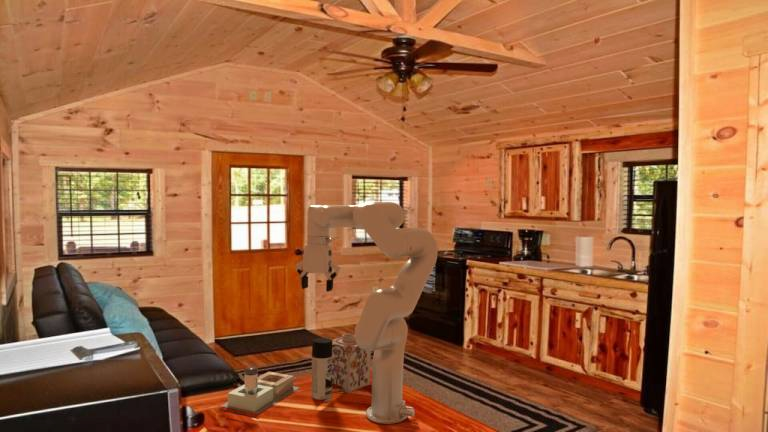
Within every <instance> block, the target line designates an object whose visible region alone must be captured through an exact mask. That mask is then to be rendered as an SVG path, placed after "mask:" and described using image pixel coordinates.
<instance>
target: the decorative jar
mask: <svg viewBox="0 0 768 432" xmlns="http://www.w3.org/2000/svg"><path fill="white" fill-rule="evenodd" d="M371 361H372V351H364V350H362V349H360V348H359V347H358V345H357V343H356V341H355V334H353V333H344V334H342V336H341V337H338V338H335V339H333V340H332V385H333V384H334V385H335V386H339V387H341V388H340V389H339V391H342V392H343V393H346V394H350V393H352V392H355V391H357V390H361V389H362V388H365V387H367V386H369V385H371V376H372V371H371V370H372V362H371Z"/></svg>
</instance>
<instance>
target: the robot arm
mask: <svg viewBox="0 0 768 432" xmlns="http://www.w3.org/2000/svg"><path fill="white" fill-rule="evenodd" d="M405 217H406V213H405V211H404V208H403V207H402V206H401V205H400V204H398V203H397V202H396V203H395V202H392V201H380V202H379V201H374V202H373V201H371V202H361V203H359V204H358V205H357V204H355V205H351V204H350V205H345V204H344V205H341V204H337V205H336V204H335V205H324V204H322V205H321V204H313V205H309V206H308V207H307V220H306V222H307V224H306V225H307V226H306V233H307V234H306V235H307V237H306V240H307V241H306V244H305V245H304V249H303V256H302V258H303V259H302V260H301V261H298V262H297V263H295V269H296V271H297V273H298V275H299V277H300V278H301V280H300V281H301V283H300V284H301V289H302V290H304V289H307V288H309V276H308V275H309V274H317V275H325V277H326V278H327V280H326V284H325V285H326V289H325V290H326V292H327V293H328V292H332V290H333V289H334V280H335V278H337V276H338V275H339V273H340V271H341V267H340V266H339V265H337V264H336V263H334V256H333V249H332V248H333V247H332V245H331V244H330V243H332V242H333V238H331V237H330V229H336V228H337V229H338V228H358V229H359V230H364V231H365V232H366V234H367V235H368V237H370V239H371V241H373V242H374V244H375V245H376V246H377V248H378V249H379V250H380V251H381V253H382V254H383V255H385V256H386V257H387V258H390V259H402V258H408V260H407V261H406V262H405V263H404V264H403V265H402V267H401V268H400V269H399V271H398V273H397V275H396V276H397V277H396V278H395V280H394V282H393V283H392V285H390V286H389V287H383V288H379V289H377V290H374V291H373V292H372V293H371V294H370V295H369V296H368V297H367V299H366V301H365V304H364V306H363V309H362V311H361V313H360V315H359V318H358V321H357V323H356V325H355V329H354V335H355V341H356V343H357V345H358V347H359V348H360V349H362V350H364V351H371V352H373V351H374V352H373V357H372V365H371V370H372V371H371V403H370V404H371V406H369V407H368V408H367V409H366V411H365V414H366V415H365V416H366V417H367V419H369V420H370V421H371V422H374V423H376V424H377V423H378V424H384V425H389V424H391V425H393V424H397V423H401V422H403V421H405V420H406V419H407V417H412V418H413V417H414V416H415V414H416V413H415V409H414V407H412V406H407V405H406V400H404V399H403V386H404V385H403V381H404V361H405V360H404V357H405V348H406V344H407V338H408V332H409V331H408V330H409V328H408V324H407V322H406V319H404V318H406V317H408V316H410V315H411V314H413V311H414V310H415V308H416V306H417V305H418V301H419V300H420V297H421V295H422V292H423V291H424V288H425V286H426V284H427V281H428V279H429V277H430V275H431V273H432V272H433V270H434V267H435V266H436V263H437V259H438V244H437V240H436V238H435V237H434V235H433V234H432V232H430V231H429V230H428V229H425V228H421V227H402V228H401V227H400V226H402V225H403V223H404V221H405ZM399 227H400V228H399Z"/></svg>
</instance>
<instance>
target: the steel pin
mask: <svg viewBox="0 0 768 432" xmlns="http://www.w3.org/2000/svg"><path fill="white" fill-rule="evenodd" d="M258 373H259V368H258V367H257V366H254V365H253V366H251V365H250V366H247V367H244V384H245V394H249V395H255V394H256V393H258V377H259V376H258Z"/></svg>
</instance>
